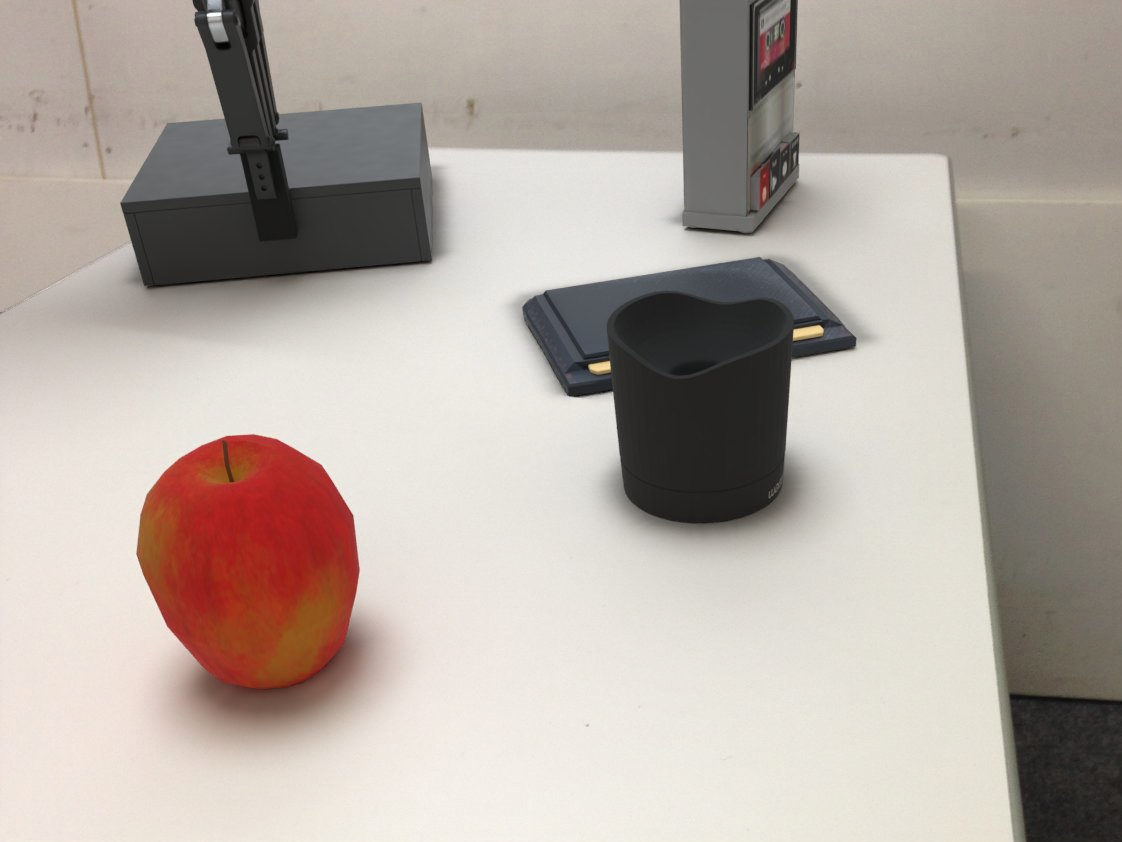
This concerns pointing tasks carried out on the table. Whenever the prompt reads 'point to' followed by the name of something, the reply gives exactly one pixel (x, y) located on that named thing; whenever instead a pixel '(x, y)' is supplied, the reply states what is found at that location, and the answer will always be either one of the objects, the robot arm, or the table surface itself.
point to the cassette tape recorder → (737, 110)
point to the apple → (251, 560)
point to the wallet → (583, 311)
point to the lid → (315, 188)
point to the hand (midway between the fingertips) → (278, 236)
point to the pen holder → (701, 403)
